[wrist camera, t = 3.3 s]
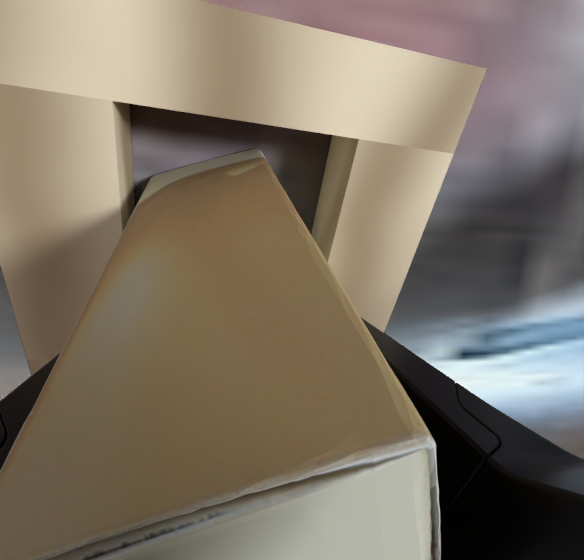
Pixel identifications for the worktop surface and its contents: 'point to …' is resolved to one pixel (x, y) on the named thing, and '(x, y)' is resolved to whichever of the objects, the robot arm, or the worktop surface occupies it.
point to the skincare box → (220, 399)
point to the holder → (218, 103)
